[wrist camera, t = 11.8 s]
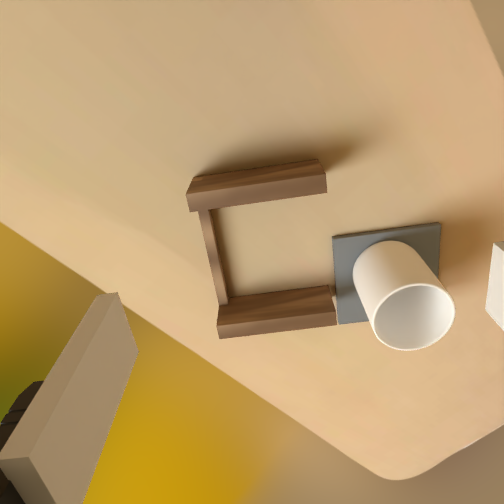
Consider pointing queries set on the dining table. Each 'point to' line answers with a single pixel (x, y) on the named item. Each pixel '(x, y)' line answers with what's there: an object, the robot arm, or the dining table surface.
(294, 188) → the frame
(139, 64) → the dining table surface
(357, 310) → the coaster
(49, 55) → the dining table surface
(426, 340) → the mug
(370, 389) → the dining table surface
